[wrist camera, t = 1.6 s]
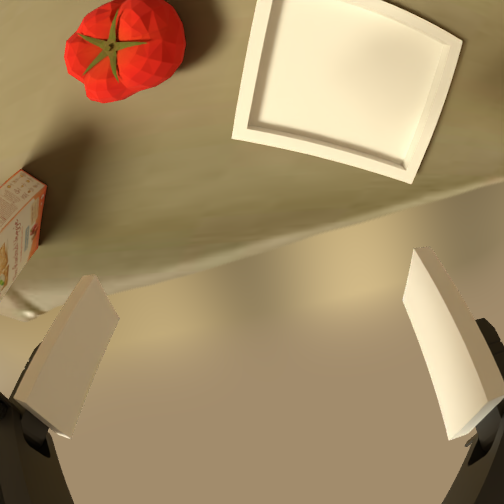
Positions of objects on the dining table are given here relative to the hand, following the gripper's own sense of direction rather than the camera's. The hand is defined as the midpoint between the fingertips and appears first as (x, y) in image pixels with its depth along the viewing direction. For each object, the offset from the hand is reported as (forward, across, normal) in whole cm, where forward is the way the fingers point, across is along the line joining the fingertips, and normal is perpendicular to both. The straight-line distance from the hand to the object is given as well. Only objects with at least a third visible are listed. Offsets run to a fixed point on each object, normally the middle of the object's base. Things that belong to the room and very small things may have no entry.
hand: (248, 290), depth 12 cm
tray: (+20, +9, +7) cm, 23 cm away
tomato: (+20, -10, +13) cm, 26 cm away
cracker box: (+23, -35, -2) cm, 42 cm away
